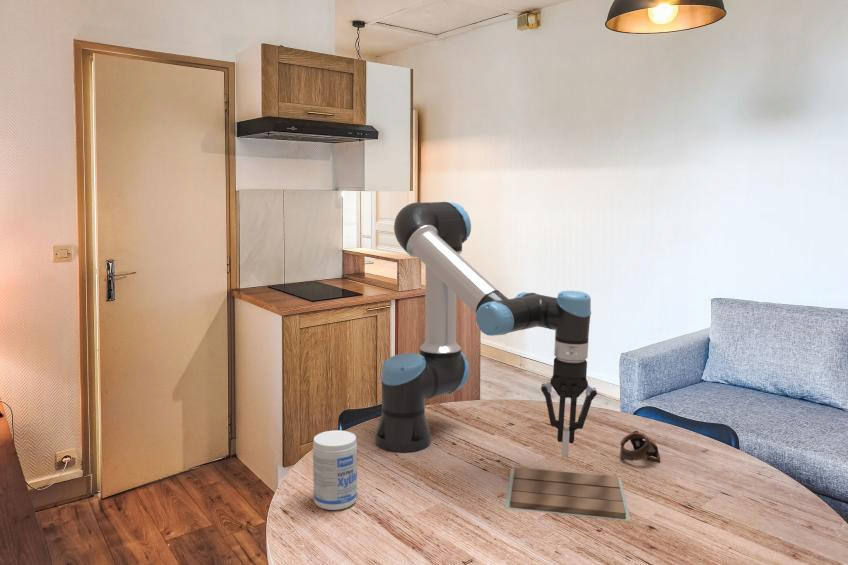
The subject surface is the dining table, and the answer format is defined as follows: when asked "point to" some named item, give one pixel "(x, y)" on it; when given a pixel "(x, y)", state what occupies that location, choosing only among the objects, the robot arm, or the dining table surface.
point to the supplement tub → (335, 469)
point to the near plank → (567, 490)
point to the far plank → (566, 477)
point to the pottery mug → (639, 447)
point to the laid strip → (568, 504)
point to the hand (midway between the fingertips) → (564, 454)
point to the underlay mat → (566, 512)
